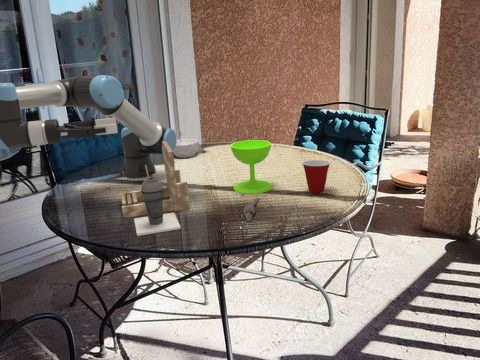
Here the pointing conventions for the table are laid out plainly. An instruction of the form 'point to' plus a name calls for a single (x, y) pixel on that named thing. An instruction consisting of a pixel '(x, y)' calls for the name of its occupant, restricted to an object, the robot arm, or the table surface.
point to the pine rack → (174, 190)
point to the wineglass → (251, 164)
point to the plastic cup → (316, 175)
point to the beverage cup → (153, 199)
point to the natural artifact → (250, 209)
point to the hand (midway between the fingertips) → (116, 125)
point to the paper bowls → (186, 148)
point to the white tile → (146, 228)
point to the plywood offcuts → (129, 199)
